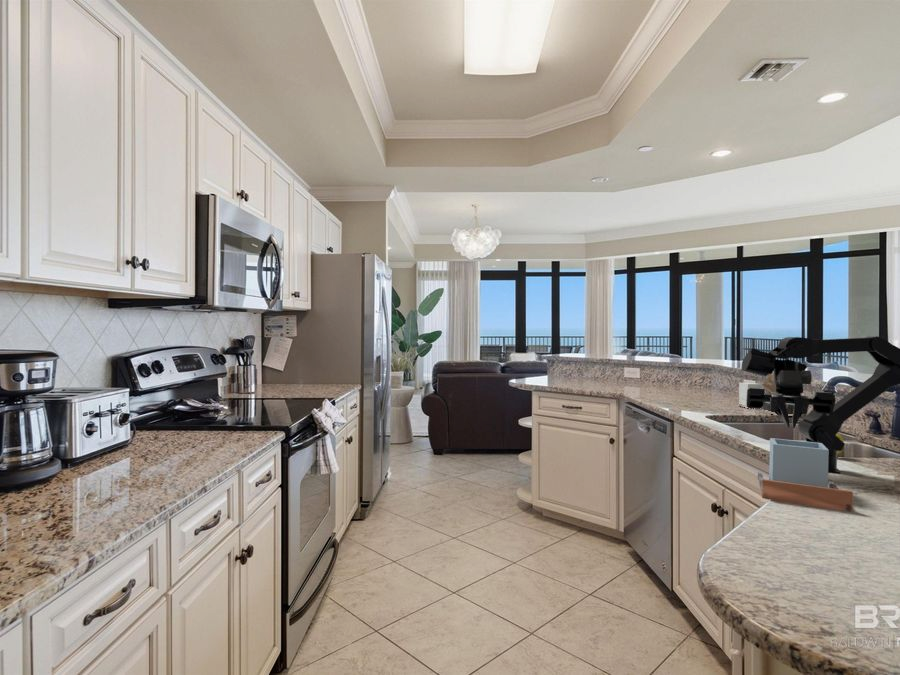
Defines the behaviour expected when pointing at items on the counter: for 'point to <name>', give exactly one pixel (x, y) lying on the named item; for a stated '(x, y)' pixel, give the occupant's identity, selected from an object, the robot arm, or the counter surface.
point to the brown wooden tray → (806, 494)
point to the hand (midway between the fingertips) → (791, 426)
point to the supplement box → (743, 391)
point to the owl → (770, 388)
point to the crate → (798, 462)
